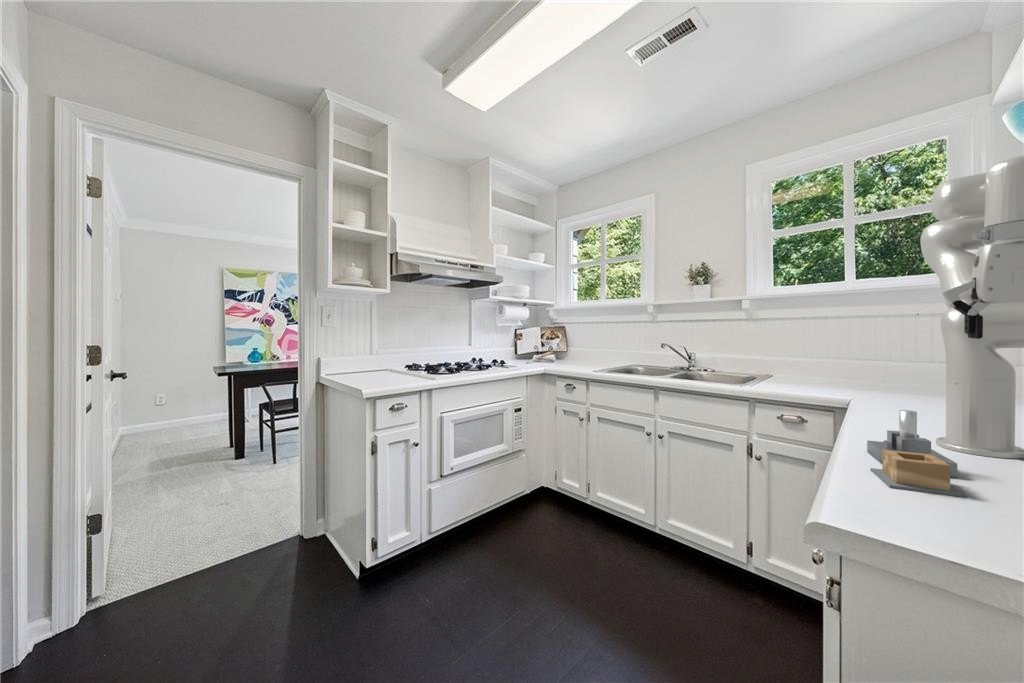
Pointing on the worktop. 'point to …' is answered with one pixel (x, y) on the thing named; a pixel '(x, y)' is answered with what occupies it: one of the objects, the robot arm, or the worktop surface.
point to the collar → (916, 469)
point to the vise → (907, 441)
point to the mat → (892, 484)
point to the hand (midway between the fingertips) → (1017, 337)
